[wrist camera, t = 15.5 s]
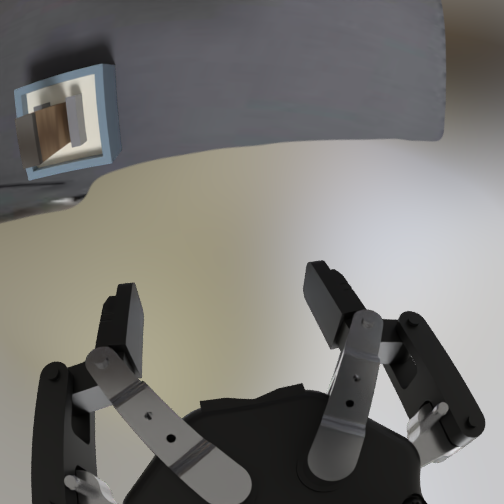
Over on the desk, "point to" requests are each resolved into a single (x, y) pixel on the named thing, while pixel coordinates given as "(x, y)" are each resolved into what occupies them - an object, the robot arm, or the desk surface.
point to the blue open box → (77, 117)
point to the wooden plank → (42, 134)
